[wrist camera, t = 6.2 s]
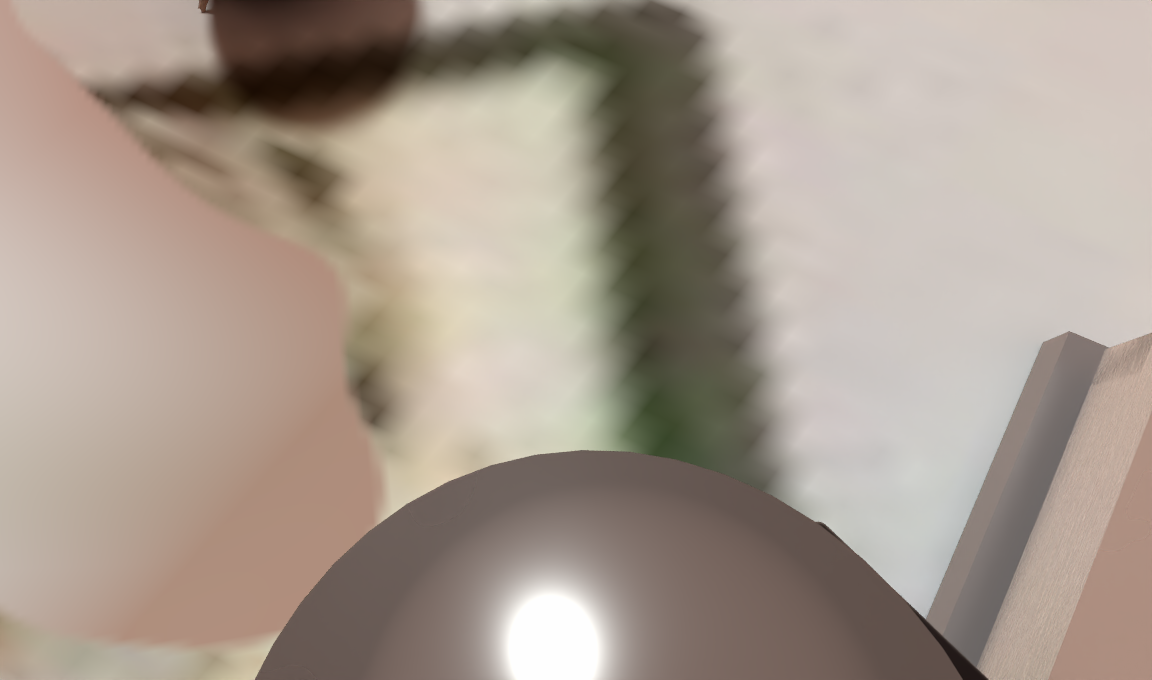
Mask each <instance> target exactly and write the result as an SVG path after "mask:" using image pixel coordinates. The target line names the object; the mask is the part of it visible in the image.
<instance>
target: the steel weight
mask: <svg viewBox="0 0 1152 680" xmlns="http://www.w3.org/2000/svg"><path fill="white" fill-rule="evenodd" d="M255 680H963V679H962V678H961V676H960V674H959V673H958V671H957V670H956V668H955V667H954V665H953V663H952V662H951V660H950V659H949V657H948V655H947V654H946V652H945V651H944V649H943V648H942V646H941V645H940V644H939V643H938V641H937V640H936V639H935V638H934V636H933V635H932V634H931V633H930V631H929V630H928V629H927V628H926V626H925V625H924V624H923V623H922V621H921V620H920V619H919V618H918V616H917V615H916V614H915V613H914V611H913V610H912V609H911V608H910V606H909V605H908V604H907V603H906V601H905V600H904V599H903V598H902V597H901V596H900V595H899V594H898V593H897V592H896V591H895V590H894V589H893V588H892V587H891V586H890V585H889V584H888V583H887V582H886V581H885V580H884V579H883V578H882V577H881V576H880V575H879V574H878V573H877V572H876V571H875V570H874V569H873V568H872V567H871V566H870V565H869V564H868V563H867V562H866V561H865V560H863V559H862V558H861V557H860V556H859V555H857V554H856V553H855V552H854V551H852V550H851V549H850V548H848V547H847V546H846V545H845V544H843V543H842V542H841V541H840V540H838V539H837V538H836V537H834V536H833V535H832V534H831V533H829V532H828V531H827V530H826V529H824V528H823V527H822V526H820V525H819V524H818V523H816V522H814V521H813V520H811V519H810V518H808V517H806V516H805V515H803V514H801V513H800V512H798V511H796V510H795V509H793V508H791V507H790V506H788V505H786V504H785V503H783V502H782V501H780V500H778V499H777V498H775V497H773V496H772V495H769V494H767V493H765V492H763V491H760V490H758V489H756V488H754V487H752V486H749V485H747V484H745V483H743V482H740V481H738V480H736V479H734V478H731V477H729V476H727V475H725V474H722V473H718V472H715V471H712V470H708V469H705V468H702V467H699V466H695V465H692V464H689V463H685V462H682V461H679V460H675V459H669V458H663V457H657V456H651V455H645V454H639V453H633V452H618V451H589V450H580V451H570V452H560V453H549V454H539V455H533V456H529V457H525V458H520V459H516V460H512V461H508V462H504V463H499V464H495V465H491V466H488V467H486V468H483V469H480V470H478V471H475V472H473V473H470V474H467V475H465V476H462V477H460V478H457V479H454V480H452V481H449V482H447V483H445V484H443V485H441V486H440V487H438V488H436V489H434V490H432V491H430V492H428V493H427V494H425V495H423V496H421V497H419V498H417V499H415V500H414V501H412V502H410V503H408V504H406V505H405V506H404V507H402V508H401V509H400V510H398V511H397V512H395V513H394V514H393V515H391V516H390V517H388V518H387V519H386V520H384V521H383V522H381V523H380V524H379V525H377V526H376V527H374V528H373V529H372V530H370V531H369V532H368V533H367V534H366V535H365V536H364V537H362V538H361V539H360V540H359V541H358V542H357V543H356V544H355V545H354V546H353V547H352V548H351V549H349V551H347V552H346V553H345V554H344V555H343V556H342V557H341V558H340V559H339V560H338V561H336V562H335V563H334V564H333V565H332V567H331V568H330V569H329V570H328V571H327V573H326V574H325V575H324V576H323V577H322V578H321V580H320V581H319V582H318V583H317V584H316V585H315V587H314V588H313V589H312V590H311V591H310V593H309V594H308V595H307V596H306V597H305V598H304V600H303V601H302V602H301V604H300V605H299V606H298V608H297V609H296V611H295V612H294V614H293V616H292V617H291V618H290V620H289V621H288V623H287V624H286V626H285V627H284V629H283V630H282V632H281V633H280V635H279V636H278V638H277V639H276V641H275V642H274V644H273V646H272V648H271V650H270V651H269V653H268V655H267V657H266V659H265V661H264V663H263V665H262V667H261V669H260V671H259V673H258V675H257V677H256V679H255Z"/></svg>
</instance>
